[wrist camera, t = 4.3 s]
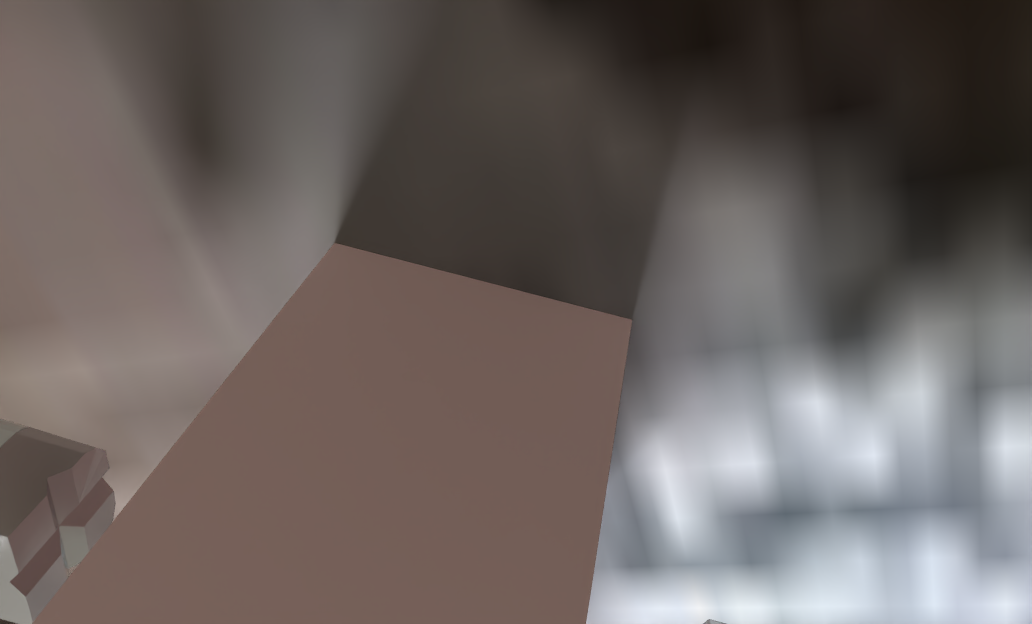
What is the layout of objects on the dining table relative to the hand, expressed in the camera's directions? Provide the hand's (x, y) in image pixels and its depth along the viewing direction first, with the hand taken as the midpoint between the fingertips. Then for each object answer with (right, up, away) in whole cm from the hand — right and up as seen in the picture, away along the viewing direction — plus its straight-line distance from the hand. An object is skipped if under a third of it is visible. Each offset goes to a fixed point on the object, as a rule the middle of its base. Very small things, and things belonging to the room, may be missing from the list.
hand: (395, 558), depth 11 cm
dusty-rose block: (+1, +2, +3) cm, 3 cm away
